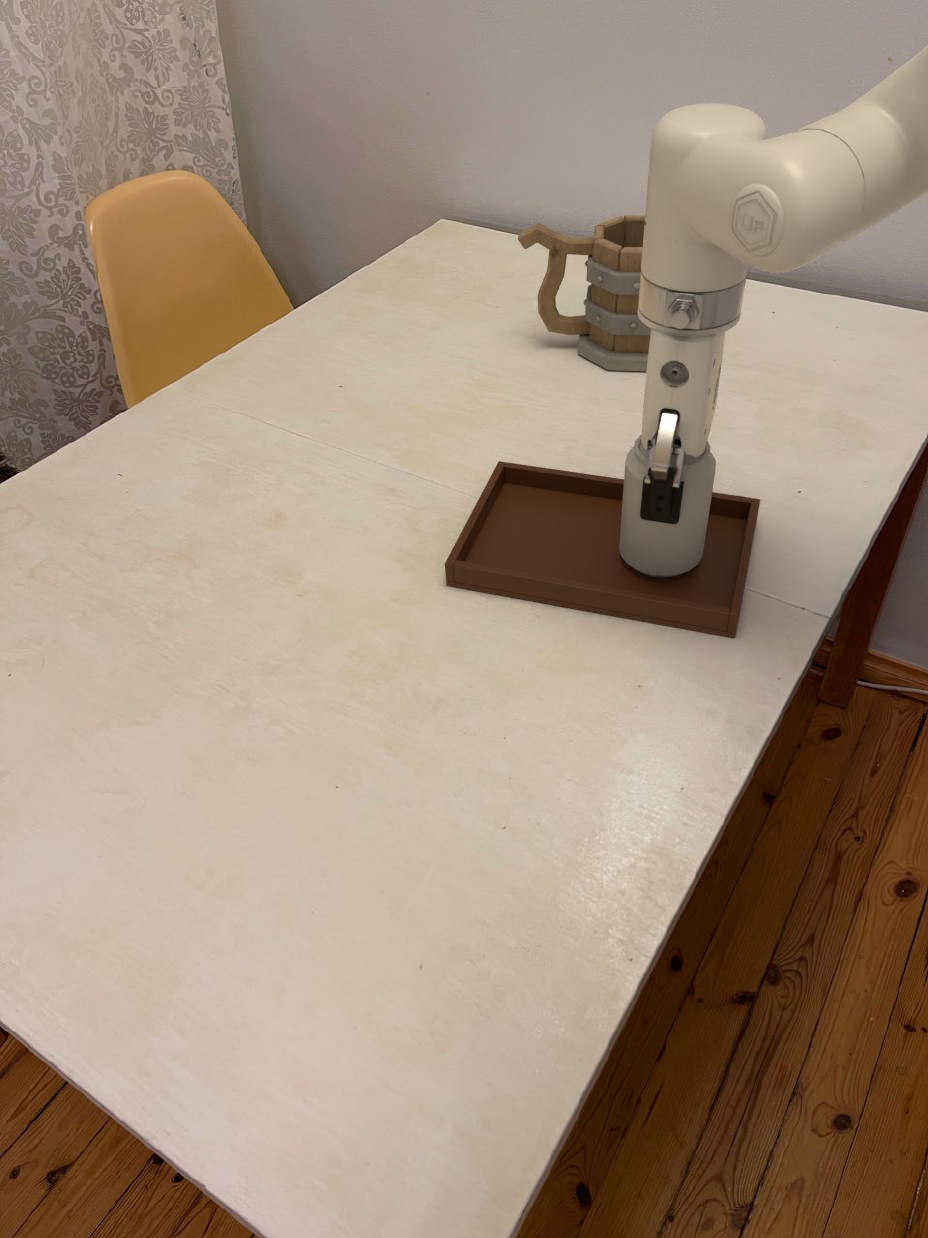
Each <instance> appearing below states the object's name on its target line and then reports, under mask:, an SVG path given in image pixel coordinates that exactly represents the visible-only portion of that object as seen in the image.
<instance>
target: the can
mask: <svg viewBox="0 0 928 1238" xmlns="http://www.w3.org/2000/svg"><path fill="white" fill-rule="evenodd" d="M674 441H675V439H674ZM673 446H676V447H679V446H678V445H674V444H673ZM649 450H650V449H649ZM649 450H646V449H645V448H644V447H643V445H642V433H641V434H640V435H638V437H637V438H636V439H635V441H634V445H633V446H632V447H631V448H630V449H629V451H628V452H627V453H626V457H625V462H624V476H623V477H624V478H623V479H624V488H623V502H622V516H621V529H620V543H619V550H620V553H621V556H622V558H623V559H624V560H625V561H626V562H627V563H628V565H630V566H632V567H633V568H635V569H636V570H638V571H639V572H641V573H643V574H646V575H649V576H652V577H662V578H664V577H673V576H676V575H679V574H682V573H684V572H687V571H689V570H691V569H692V568H694V567H695V566H696V565H698V563H699V562H700V560H701V558H702V557H703V550H704V543H705V537H706V530H707V523H708V516H709V510H710V503H711V496H712V492H713V489H714V483H715V476H716V467H717V460H716V458H715V456H714V454H713V453H712V452H711V445H710V443H709V442H708V440H707V443H706V447H705V450H704V452H703V453H702V454H701V455H700V456H698V457H694V456H692V455H686V454H685V459H684V465H683V471H682V476H681V481H683V482H684V488H683V495H682V503H681V511H680V518H679V522H678V523H677V524H668V523H661V522H655V521H648V520H643V519H641V518H640V508H641V498H642V487H643V479H644V476H645V475H646V468H647V462H648V456H649ZM676 461H677V455H672V454H671V460H670V467H673V468H674V472H675V467H676Z"/></svg>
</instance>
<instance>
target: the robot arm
mask: <svg viewBox="0 0 928 1238" xmlns="http://www.w3.org/2000/svg"><path fill="white" fill-rule="evenodd" d="M650 141H651V142H650V150H649V160H648V172H647V173H648V175H647V184H646V185H647V186H646V198H645V212H644V213H645V214H644V216H645V224H644V236H643V249H642V262H641V276H640V289H639V301H638V317H639V319H640V320H641V322H642V323H644V324H645V325H646V326H648V327H649V328H651V333H650V342H649V352H648V361H647V371H646V373H645V383H644V393H643V406H642V417H641V418H642V419H641V421H642V422H641V434H642V445H643V447H644V448H645V449H646V450H649V449H650V450H649V456H648V462H647V468H646V475H645V476H644V479H643V487H642V498H641V508H640V518H641V519H643V520H648V521H655V522H661V523H668V524H677V523H678V522H679V518H680V511H681V503H682V495H683V488H684V482H683V481H681V476H682V471H683V465H684V459H685V454H686V455H692V456H694V457H698V456H700V455H701V454H702V453H703V452H704V450H705V447H706V443H707V441H708V440H709V435H710V432H711V429H712V424H713V421H714V417H715V412H716V409H717V404H718V397H719V396H718V395H719V387H720V386H719V385H720V377H721V370H722V363H723V356H724V347H725V341H726V340H725V339H726V332H727V331H730V330H731V329H732V328H733V327H735V326H736V325H737V324H738V323H739V322H740V319H741V316H742V315H741V314H742V309H743V302H744V296H745V295H744V294H745V288H746V282H747V275H748V270H749V267H750V268H754V269H756V270H758V271H762V272H767V273H772V274H773V273H774V274H778V273H787V272H792V271H795V270H798V269H800V268H802V267H805V266H806V265H808V264H810V263H812V262H813V261H815V260H817V259H819V258H820V257H822V256H824V255H825V254H827V253H829V252H830V251H832V250H834V249H836V248H837V247H839V246H841V245H842V244H843V243H845V242H847V241H849V240H850V239H852V238H853V237H856V236H857V235H859V234H861V233H862V232H865V231H867V230H868V229H870V228H872V227H873V226H875V225H877V224H879V223H881V222H883V221H884V220H886V219H888V218H889V217H890V216H893V215H894V214H896V213H898V212H899V211H900V210H902V209H904V208H905V207H906V206H908V205H910V204H911V203H913V202H914V201H916V200H918V199H919V198H921V197H922V196H924V195H926V194H927V193H928V44H927V45H926V46H925V47H924V48H922V49H921V50H920V51H919V52H917V53H916V54H915V55H914V56H912V57H911V58H910V59H909V60H908V61H906V62H905V63H904V64H902V65H901V66H900V67H898V68H896V70H895V71H893V72H892V73H891V74H889V75H888V76H887V77H885V78H884V79H883V80H882V81H880V82H879V83H877V84H876V85H875V86H874V87H872V88H871V89H869V90H868V91H867V92H866V93H864V94H863V95H861V96H860V97H859V98H858V99H856V100H854V101H853V102H852V103H850V104H849V105H847V106H846V107H844V108H842V109H841V110H839V111H837V112H835V113H832V114H830V115H828V116H825V117H823V118H820V119H818V120H816V121H814V122H812V123H809V124H807V125H805V126H802V127H801V128H799V129H796V130H794V131H792V132H790V133H786V134H782V135H778V136H774V137H770V138H768V131H767V126H766V124H765V122H764V121H763V119H762V118H761V117H760V115H758V114H757V113H756V112H755V111H753V110H752V109H748V108H746V107H743V106H739V105H736V104H735V105H734V104H730V103H719V102H706V103H705V102H704V103H695V104H688V105H683V106H680V107H677V108H674V109H671V110H669V111H668V112H667V113H665V114H664V115H663V116H662V117H661V118H660V119H659V120H658V122H657V124H655V128H654V129H653V132H652V135H651V140H650ZM674 439H675V441H674ZM673 444H674V445H678V446H679V447H676V446H673ZM671 454H672V455H677V461H676V467H675V472H674V468H673V467H670V460H671Z"/></svg>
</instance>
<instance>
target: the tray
mask: <svg viewBox="0 0 928 1238" xmlns="http://www.w3.org/2000/svg"><path fill="white" fill-rule="evenodd" d="M623 488H624V478H618V477H611V476H603V475H597V474H590V473H584V472H575V471H571V470H570V471H569V470H563V469H556V468H548V467H542V466H534V465H528V464H527V465H526V464H521V463H513V462H508V461H501V460H498V461H497V463H496V465H495V467H494V469H493V471H492V473H491V475H490V476H489V479H488V481H487V483H486V484H485V486H484V488H483V490H482V492H481V494H480V496H479V498H478V500H477V502H476V503H475V505H474V507H473V509H472V511H471V513H470V515H469V516H468V518H467V521H466V522H465V525H463V528H462V531H461V532H460V533H459V536H458V538H457V540H456V542H454V545H453V547H452V549H451V551H450V553H449V555H448V556H447V559H446V560H445V562H444V572H445V585H446V586H448V587H453V588H459V589H464V590H470V591H475V592H480V593H486V594H490V595H491V594H492V595H495V596H502V597H508V598H512V599H519V600H524V601H530V602H535V603H540V604H546V605H551V606H552V605H553V606H557V607H562V608H567V609H573V610H580V611H584V612H589V613H595V614H599V615H601V614H602V615H606V616H611V617H617V618H623V619H629V620H634V621H638V622H645V623H649V624H656V625H662V626H666V627H672V628H677V629H683V630H688V631H694V632H699V633H705V634H710V635H715V636H721V637H727V638H732V639H735V638H736V636H737V631H738V626H739V620H740V617H741V616H740V615H741V611H742V605H743V599H744V593H745V587H746V582H747V576H748V571H749V566H750V560H751V556H752V555H751V554H752V549H753V544H754V538H755V533H756V527H757V521H758V515H759V509H760V505H761V499H760V498H754V497H750V496H743V495H736V494H735V495H734V494H727V493H721V492H714V491H712V496H711V503H710V510H709V516H708V523H707V530H706V537H705V543H704V550H703V557H702V558H701V560H700V562H699V563H698V565H696V566H695V567H694V568H692V569H691V570H689V571H687V572H684V573H682V574H679V575H676V576H673V577H664V578H662V577H652V576H649V575H646V574H643V573H641V572H639V571H638V570H636V569H635V568H633V567H632V566H630V565H628V563H627V562H626V561H625V560H624V559H623V558H622V556H621V553H620V550H619V543H620V529H621V516H622V502H623Z"/></svg>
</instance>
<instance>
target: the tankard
mask: <svg viewBox="0 0 928 1238" xmlns="http://www.w3.org/2000/svg"><path fill="white" fill-rule="evenodd" d="M644 224H645V215H638V214H637V215H635V214H633V215H620V216H617V217H614V218H611V219H609V220H606V221H603V222H601V223H598V224H597V225H596V226H594V230H593V237H570V236H567V235H564V234H562V233H561V232H557V231H555V230H553V229H551V228H549V227H548V226H545V225H543V224H542V223H539V222H536V223H535V224H533V225H532V226H530V227H528V228H526V229H524V230H523V231H521V232H519V233H518V235H517V241H518V243H519V244H520V245H521V247H522V249H523V250H527V249H530V248H531V247H533V246H534V245H536V244H539V245H541V246H542V247H544V248H546V249H547V250H548V259H547V267H546V271H545V274H544V277H543V280H542V282H541V283H540V284H541V285H540V286H539V289H538V292H537V314H538V315H539V317H540V319H541V320H542V323H543V324H544V326H545V328H546V329H547V331H548V332H549V333H555V334H560V335H566V336H578V345H577V354H578V355H579V356H581V357H583V358H585V359H587V360H588V361H590V362H592V363H594V364H596V365H597V366H599V367H600V368H603V369H605V370H606V371H610V372H611V371H612V372H613V371H616V372H621V371H622V372H643V373H645V372H646V371H647V361H648V352H649V342H650V333H651V328H649V327H648V326H646V325H645V324H644V323H642V322H641V320H640V319H639V317H638V301H639V289H640V276H641V262H642V249H643V236H644ZM568 255H571V256H572V255H575V256H587V260H586V261H584V265H585V267H586V282H587V283H589V285H588V286H587V288H586V289H587V291H586V298H585V299H584V300H583V305H584V306H585V308H584V309H585V311H584V314H583V315H573V316H566V315H563V314H561V313H560V312H559V311H558V308H557V304H556V303H557V302H556V301H557V300H556V297H557V295H558V292H559V289H560V287H561V285H562V283H563V281H564V280H563V279H564V278H565V274H566V265H567V258H568Z"/></svg>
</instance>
